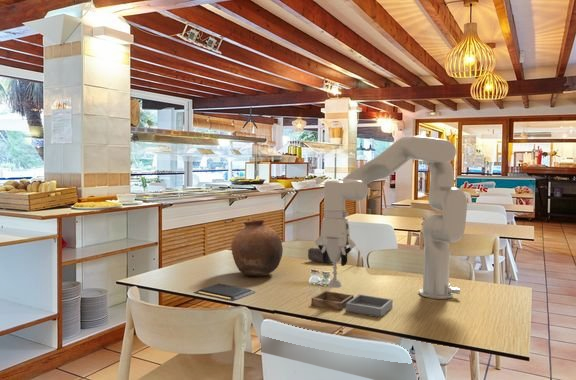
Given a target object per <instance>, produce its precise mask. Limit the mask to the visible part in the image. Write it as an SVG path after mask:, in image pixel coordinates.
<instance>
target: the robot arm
mask: <svg viewBox="0 0 576 380" xmlns="http://www.w3.org/2000/svg"><path fill="white" fill-rule="evenodd" d="M456 155H457V149H456V146H455V145H454V143H453V142H452V141H450V140H448V139H443V138H435V137H428V136H422V135H409V136H408V135H407V136H402V137H400V138H399V139H397V140H396V141H395V142H393V143H392V144H391V145H390V146H389V147H387V148H386V149H384V150H383V151H382V152H381V153H380V154H378V155H377V156H375V157H374V158H372V159H370V160H369V161H367V162H366V163H364V164H362V165H360V166H359V167H357V168H356V169H354V170H353V171H351V172H350V173H348V174H347V175H345V177H343V178H342V179H341V180H326V181H325V182H324V185H323V190H324V191H323V202H324V203H323V206H324V207H323V208H324V209H323V211H324V212H323V214H324V215H323V218H322V222H321V226H320V227H321V228H320V235H319V237H318V238H316V239H315V241H314V244H315V245H316V246H317V247H318V249H320V250H321V252H322V253H323V261H324V263H323V264H324V265H326V264H329V263H328V262H329V256H328V253H327V250H326V246H327V239H326V238H332V239H338V241H337V242H338V246H339V247H340V248H341V251H342V255H341V258H340V260H341V261H340V265H341V266H342V267H345V266H346V265H347V264H348V254H349V253H350V252H351V251H352V250H353V249H354V248H355V247H356V243H355V242H354V241H353V240H352V239H351V234H350V223H349V221H348V218H346V217H349V215H350V214H349V212H348V211H346V201H354V202H360V201H363V200H364V199H366V198H367V197H368V194H369V186H368V184H370V183H372V182H375V181H379V180H381V179H385V178H388V177H390V176H392V175H393V174H394V173H395V172H396V171H398V170H399V169H400V168H401V167H402V166H404V165H405V164H406V163H407V162H409V161H411V160H420V161H423V162H424V164H425V165H427V167H428V169H429V173H430V175H429V177H430V180H429V181H430V182H429V188H428V189H429V191H428V204H429V207H431V208H432V209H433V210H436V211H437V212H438V211H439V212H442V214H440V213H432V214H429V215H428V216H426V218H424V219H423V222H422V235H423V243H424V245H423V247H424V248H423V249H424V251H423V274H422V275H423V276H422V277H423V280H422V281H423V282H422V288H420V289H418V294H419V295H420V296H422V297H424V298H429V299H436V300H446V299H451V298H452V297H453V294H457V295H460V294H461V289H460V288H458V287H453V286H452V285H451V284H452V283H450V262H451V261H450V260H451V259H450V258H451V257H450V255H451V250H450V249H451V247H450V243H451V244H452V243H457V242H459V241H460V240H461V239H462V238H463V237H464V234H465V229H466V222H467V220H466V219H467V212H468V199H467V196H466V193H465V192H464V191H463V190H462V189H460V188H458V187H454V177H455V176H454V175H455V173H454V169H453V165H452V164H451V162H452V161H453V160H454V158H455V156H456ZM325 237H326V238H325Z"/></svg>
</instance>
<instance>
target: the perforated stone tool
mask: <svg viewBox="0 0 576 380" xmlns="http://www.w3.org/2000/svg"><path fill="white" fill-rule="evenodd" d="M307 251H308V253H307V258H308V259H309V261H311V262H314V263H321V264H324V261H323V253H322V252H321V250H320V249H319V247H318V248H315V247H311V248H309V249H308V250H307ZM327 264H334V263H333V262H332V261H331V260H330V258H329V262H328V263H327Z"/></svg>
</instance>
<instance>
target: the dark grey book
mask: <svg viewBox="0 0 576 380" xmlns="http://www.w3.org/2000/svg"><path fill="white" fill-rule="evenodd" d="M255 293H256V291H254V290H252V289H249V288H245V287H239V286H235V285H230V284H223V283H216V284H213V285H210V286H207V287H204V288H201V289H198V290H197V291H194V292H193V294H196V295H201V296H206V297H210V298H214V299H215V298H216V299H219V300H225V301H229V302H234V301H238V300H240V299H242V298H245V297H249V296H251V295H253V294H255Z"/></svg>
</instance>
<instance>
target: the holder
mask: <svg viewBox="0 0 576 380" xmlns="http://www.w3.org/2000/svg"><path fill="white" fill-rule="evenodd" d="M354 297H355V296H354V294H348V293H342V292H337V291H330V290H324V291H322V292H320V293H318V294H316V295H315V296H313V297H311V306H314V307H319V306H320V308H325V307H326V308H327V309H331V308H332V309H331V310H336V309H339V310H338V311H342V309H343V308H344V309H346V303H347V302H348V301H350V300H351V299H353V298H354ZM327 299H329V300H327ZM331 299H332V300H331ZM333 300H337V301H333ZM341 300H342V301H341ZM339 301H341V302H339ZM326 308H325V309H326ZM344 309H343V310H344Z"/></svg>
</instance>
